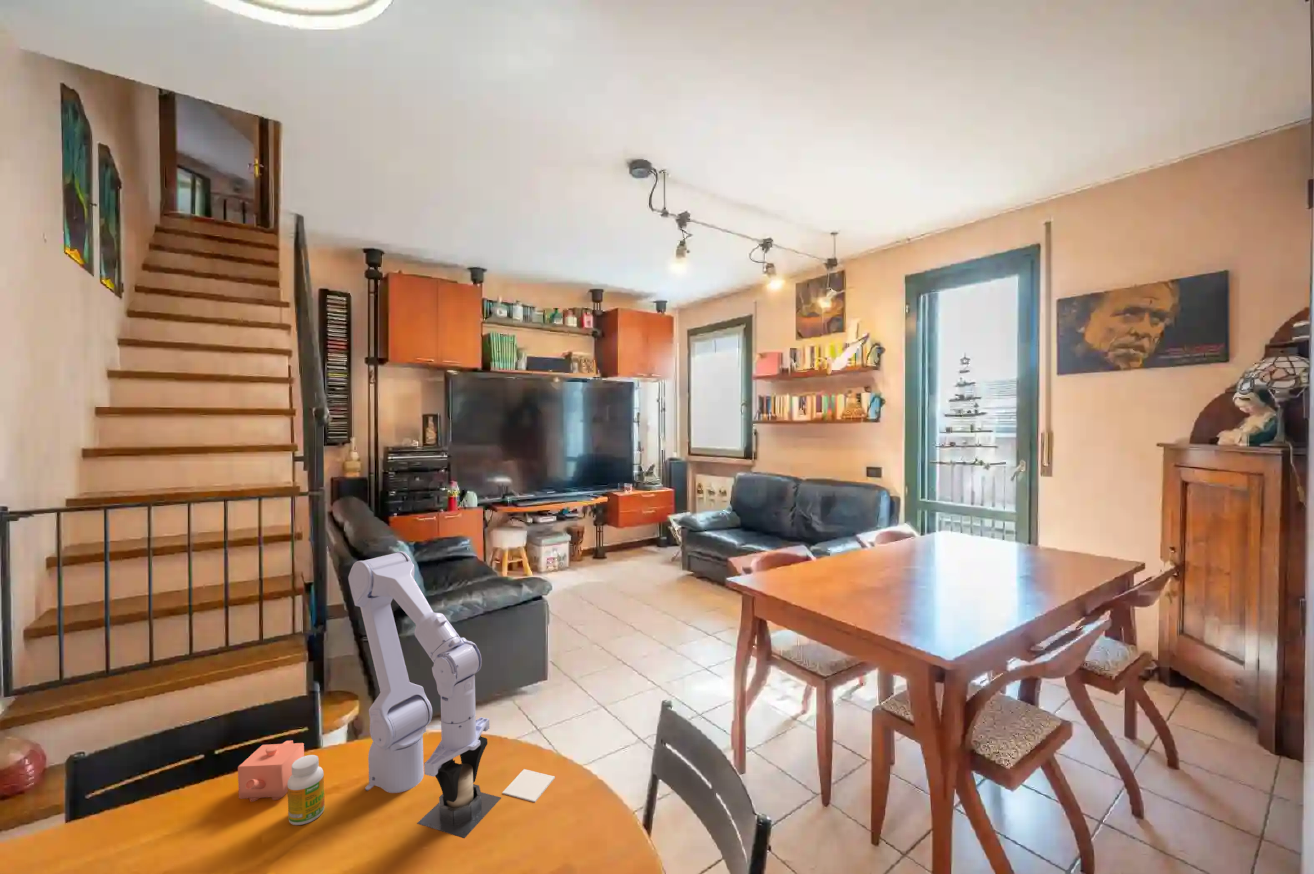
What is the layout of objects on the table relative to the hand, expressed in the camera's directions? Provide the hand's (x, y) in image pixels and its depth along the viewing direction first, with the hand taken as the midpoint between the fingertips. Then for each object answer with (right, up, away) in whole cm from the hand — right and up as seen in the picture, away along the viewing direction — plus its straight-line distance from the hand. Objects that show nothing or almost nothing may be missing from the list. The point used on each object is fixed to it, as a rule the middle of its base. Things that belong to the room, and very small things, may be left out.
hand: (460, 790), depth 95 cm
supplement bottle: (-27, -5, 0) cm, 28 cm away
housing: (0, -4, 0) cm, 4 cm away
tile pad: (+11, -4, +6) cm, 13 cm away
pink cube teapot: (-38, -5, +6) cm, 39 cm away
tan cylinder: (0, -4, 0) cm, 4 cm away
